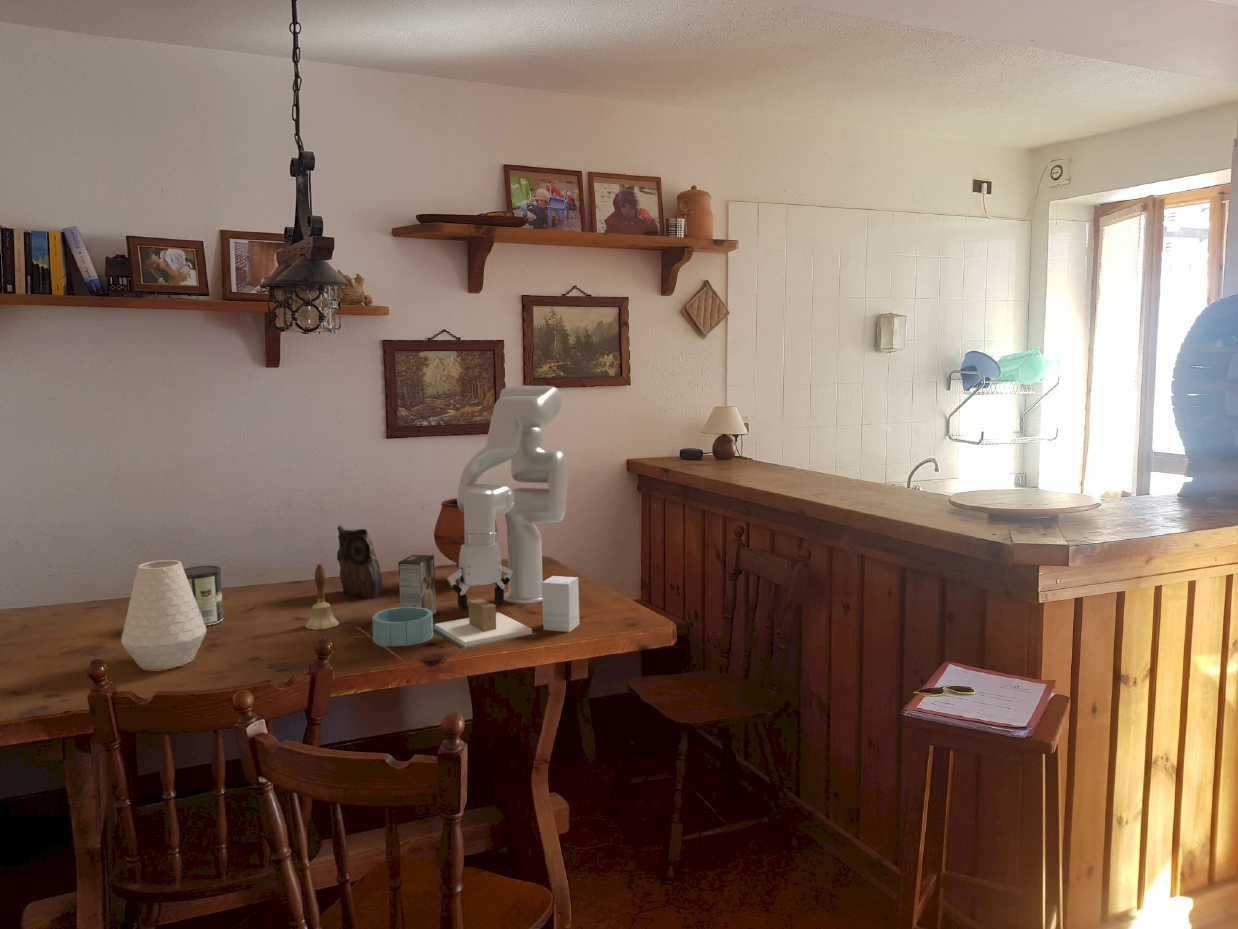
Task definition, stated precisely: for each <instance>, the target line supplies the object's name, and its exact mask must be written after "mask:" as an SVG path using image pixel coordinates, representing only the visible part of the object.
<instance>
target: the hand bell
mask: <svg viewBox="0 0 1238 929" xmlns="http://www.w3.org/2000/svg"><path fill="white" fill-rule="evenodd" d="M314 582H315V585H316V590H317V596H316V597H317V599H316V600H317V602H316V603H315V604H313V605H312V607H311V616H310V617H309V620H308V622H306V624H305V628H306V629H307V628H308V629H307V630H311V629H313V630H312V631H320V630H321V631H322V630H330V629H332V628H336V627H337V626H339V624H340V622H339V620H337V619H336V618H335V615H333V611H332V608H331V604H330V603H329V602H326V601H325V590H324V589H325V583H326V572H325V570H324V567H323V564H321V563H318V564H316V569H315V571H314Z"/></svg>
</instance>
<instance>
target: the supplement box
mask: <svg viewBox="0 0 1238 929" xmlns="http://www.w3.org/2000/svg"><path fill="white" fill-rule="evenodd" d="M543 581H544V582H542V602H541V603H542V622H543V623H542V624H543V628H542V629H543V631H544V630H546V631H555V632H565V633H566V632H568V633H569V632H571V631H572V630H574V629H575V628H577V627H578V626H579V625H580V600H579V594H580V590H579V577H575V576H560V575H559V576H558V575H551V576H550V577H549V578H547V579H545V580H543Z"/></svg>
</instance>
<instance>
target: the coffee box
mask: <svg viewBox="0 0 1238 929" xmlns="http://www.w3.org/2000/svg"><path fill="white" fill-rule="evenodd" d="M397 563H398V564H397V565H398V582H399V583H398V584H399V602H400V603H399V604H400V606H399V607H420V608H426V609H429V610H430V611H432V612H433V615H434V614H436V613H437V599H436V596H437V595H436V577H435V576H436V573H435V572H436V571H435V570H436V569H435V555H434V554H412V555H410V556H408V557H406V558H403V559H402V560H400V561H398V562H397Z"/></svg>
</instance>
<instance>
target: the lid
mask: <svg viewBox="0 0 1238 929" xmlns="http://www.w3.org/2000/svg"><path fill="white" fill-rule="evenodd" d="M496 605H497V604H494V603H492V602H489V601H488V600H485V599H483V598H477V599H471V600H468V616H469V617H466V618H460V619H456V620H450V621H443V622H438V623H434V627H435V629H436V630H438V631H439V632H441V633H443V634H444V635H446V636H448V637H449V638H451V639H453V640H454V641H456V642H457V643H459V644H461V645H462V646H464V647H468V646H473V645H478V644H483V643H488V642H493V641H498V640H503V639H508V638H513V637H518V636H523V635H528V634H532V631H533V629H532V627H529V626H527V625H525V624H523V623H521V622H518V621H517V620H515V619H513V618H511V617H509V616H507V615H505V614H503V613H501V612H497V608H496V607H497V606H496Z"/></svg>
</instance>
